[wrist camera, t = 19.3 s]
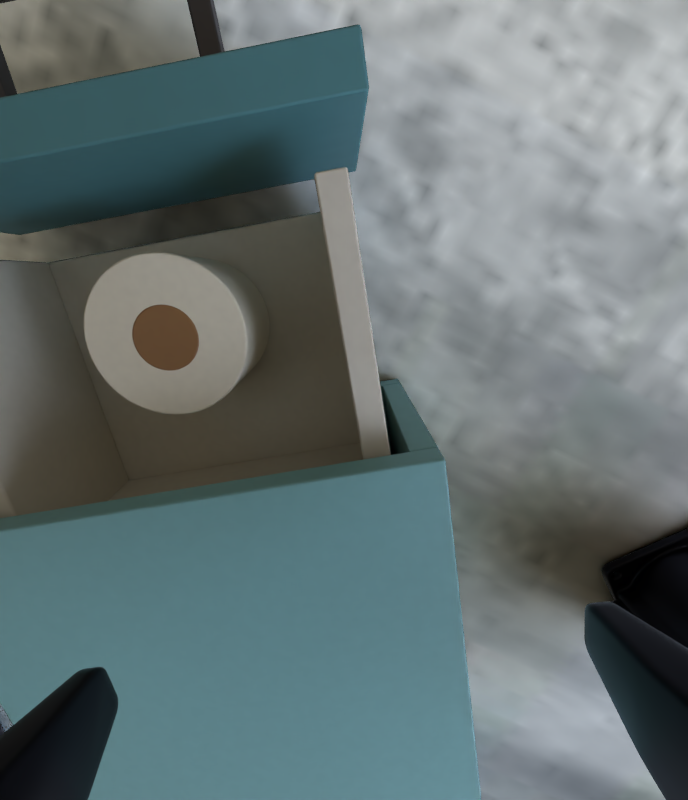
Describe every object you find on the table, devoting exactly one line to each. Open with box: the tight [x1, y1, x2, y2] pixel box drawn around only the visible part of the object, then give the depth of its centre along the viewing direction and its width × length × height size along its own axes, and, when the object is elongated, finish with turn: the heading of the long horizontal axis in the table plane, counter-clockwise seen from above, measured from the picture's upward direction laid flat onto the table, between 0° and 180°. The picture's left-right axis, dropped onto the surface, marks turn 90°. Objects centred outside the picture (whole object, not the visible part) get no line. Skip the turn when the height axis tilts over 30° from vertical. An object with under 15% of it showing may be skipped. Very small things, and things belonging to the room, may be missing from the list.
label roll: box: [84, 252, 270, 415], centre depth 14 cm, size 5×5×4 cm
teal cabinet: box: [0, 379, 481, 800], centre depth 16 cm, size 14×15×9 cm
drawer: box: [0, 0, 391, 518], centre depth 13 cm, size 17×13×7 cm
